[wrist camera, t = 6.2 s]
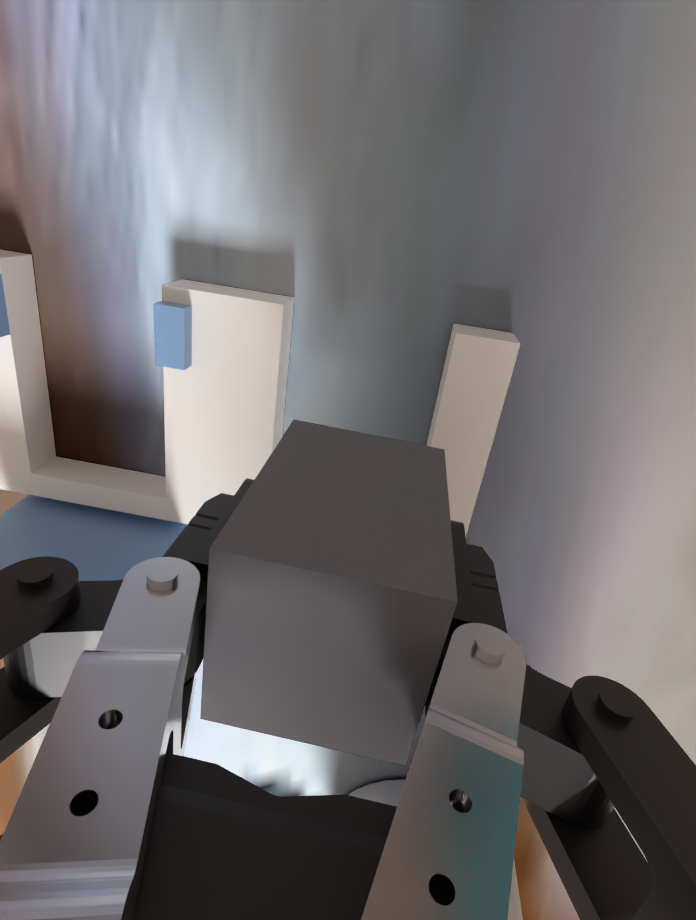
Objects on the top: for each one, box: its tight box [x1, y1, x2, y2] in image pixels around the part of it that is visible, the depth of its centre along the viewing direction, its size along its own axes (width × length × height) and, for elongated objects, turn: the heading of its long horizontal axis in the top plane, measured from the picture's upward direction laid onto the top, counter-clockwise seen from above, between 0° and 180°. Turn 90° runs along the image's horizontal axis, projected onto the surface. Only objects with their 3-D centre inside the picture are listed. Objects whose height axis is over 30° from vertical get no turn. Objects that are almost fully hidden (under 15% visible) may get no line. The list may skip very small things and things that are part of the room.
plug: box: [201, 420, 458, 766], centre depth 12 cm, size 4×4×6 cm
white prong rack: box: [0, 250, 521, 581], centre depth 18 cm, size 19×10×6 cm, turn 82°
